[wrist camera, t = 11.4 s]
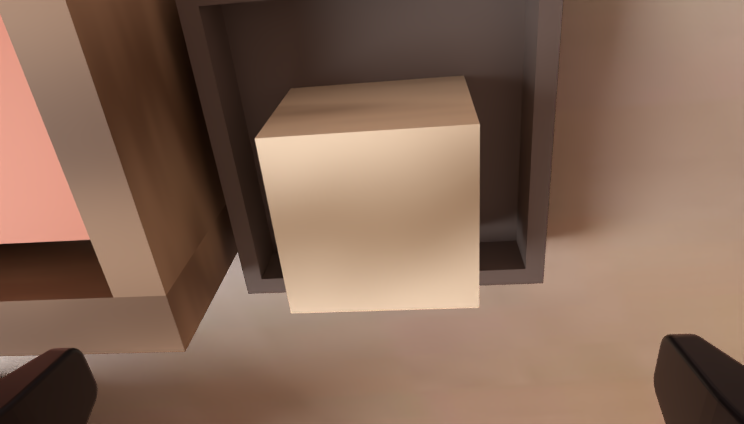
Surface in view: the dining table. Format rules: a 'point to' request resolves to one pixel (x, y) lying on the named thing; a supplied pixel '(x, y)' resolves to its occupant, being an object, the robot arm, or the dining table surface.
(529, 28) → the tray
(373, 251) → the block
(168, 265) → the brown wooden lever base
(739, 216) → the dining table surface
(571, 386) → the dining table surface
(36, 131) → the lever
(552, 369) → the dining table surface
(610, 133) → the dining table surface
